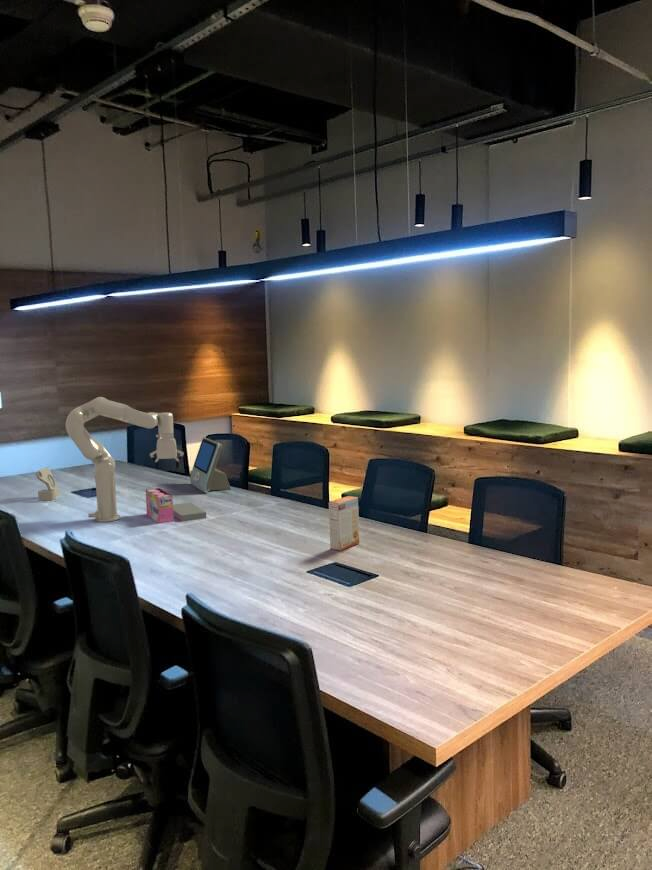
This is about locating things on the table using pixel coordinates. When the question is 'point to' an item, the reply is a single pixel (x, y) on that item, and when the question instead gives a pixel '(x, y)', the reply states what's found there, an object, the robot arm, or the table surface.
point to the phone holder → (51, 485)
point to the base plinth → (188, 512)
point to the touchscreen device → (208, 468)
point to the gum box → (159, 505)
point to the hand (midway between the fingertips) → (167, 469)
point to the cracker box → (344, 523)
